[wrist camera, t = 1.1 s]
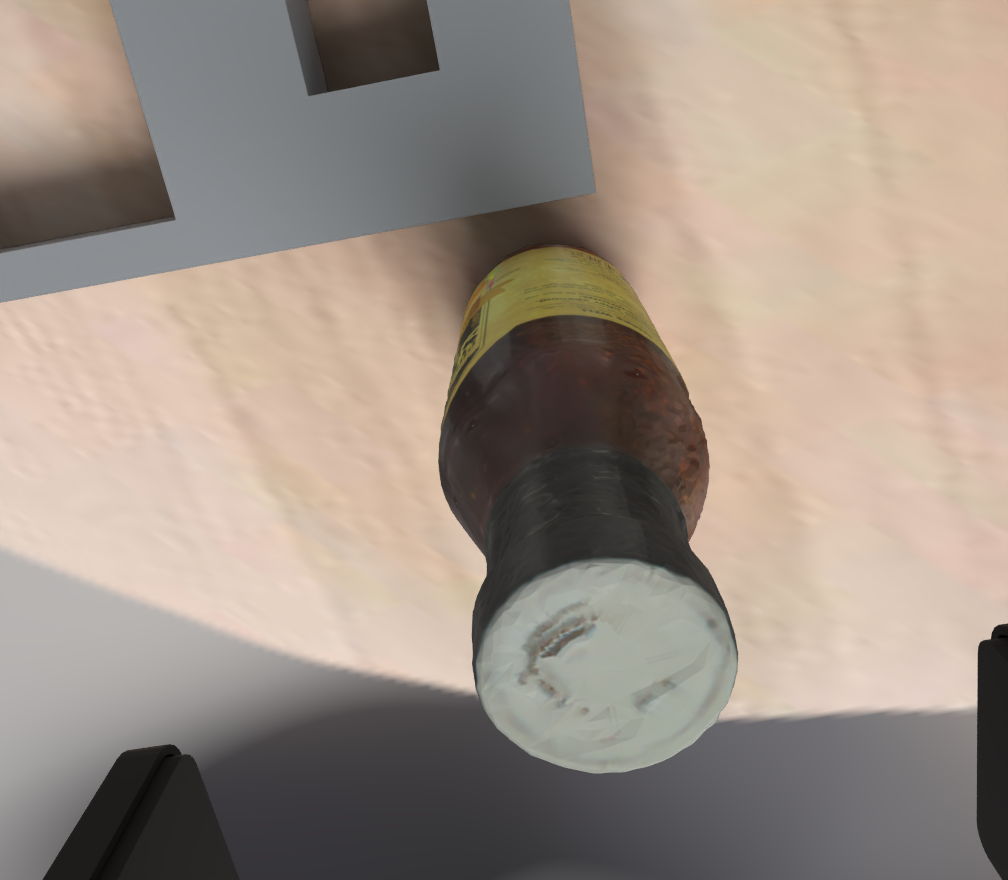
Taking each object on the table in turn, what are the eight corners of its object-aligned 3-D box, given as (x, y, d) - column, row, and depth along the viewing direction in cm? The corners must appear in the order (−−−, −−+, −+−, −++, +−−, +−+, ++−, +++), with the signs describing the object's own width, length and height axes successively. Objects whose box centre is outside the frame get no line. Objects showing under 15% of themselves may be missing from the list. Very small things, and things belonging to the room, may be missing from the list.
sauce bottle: (446, 260, 31) (324, 490, 12) (622, 219, 30) (782, 397, 11) (489, 432, 33) (443, 852, 14) (654, 397, 32) (831, 789, 14)
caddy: (526, -257, 25) (526, -303, 23) (589, 185, 30) (596, 192, 27) (-204, -91, 27) (-287, -113, 24) (-45, 302, 32) (-101, 321, 29)
